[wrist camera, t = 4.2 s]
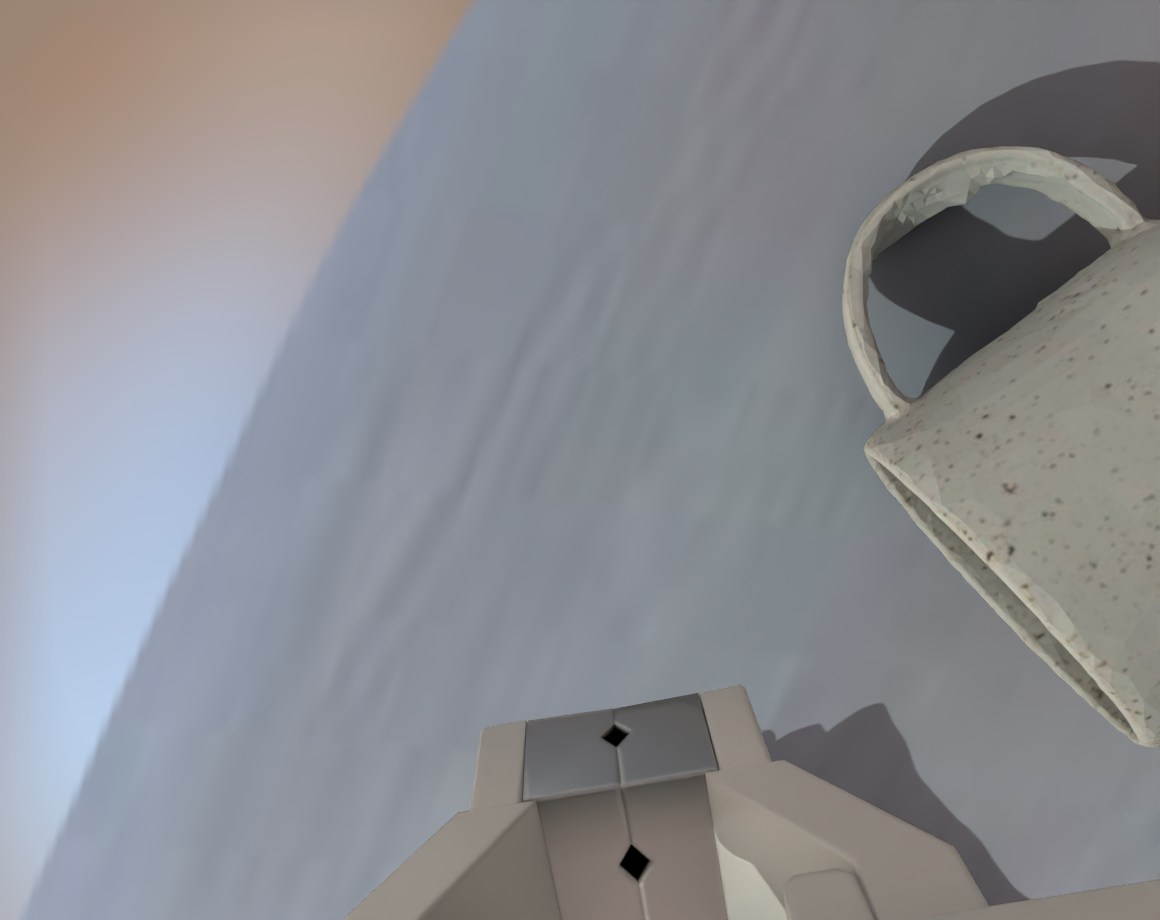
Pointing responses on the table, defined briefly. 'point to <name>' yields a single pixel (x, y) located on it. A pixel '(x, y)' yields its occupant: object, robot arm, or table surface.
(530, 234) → the table surface
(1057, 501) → the ceramic mug
